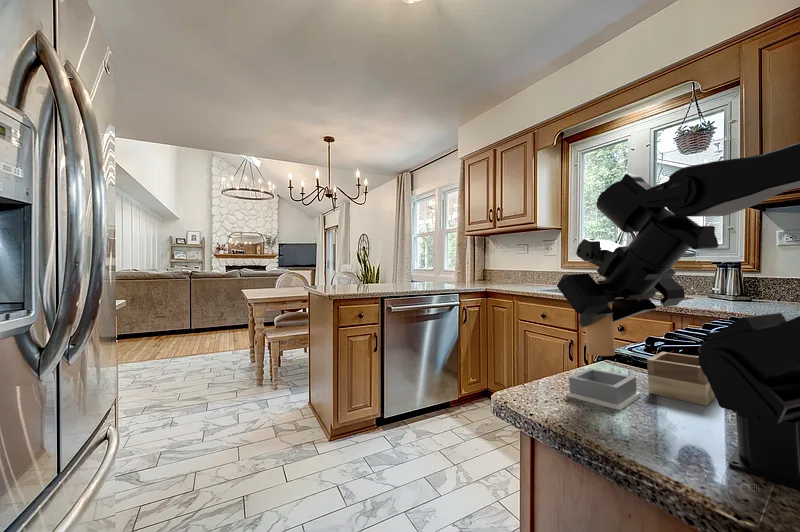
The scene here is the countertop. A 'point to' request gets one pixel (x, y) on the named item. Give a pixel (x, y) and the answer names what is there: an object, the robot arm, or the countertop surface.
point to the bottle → (601, 337)
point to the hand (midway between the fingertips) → (592, 323)
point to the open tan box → (678, 378)
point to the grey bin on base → (603, 388)
